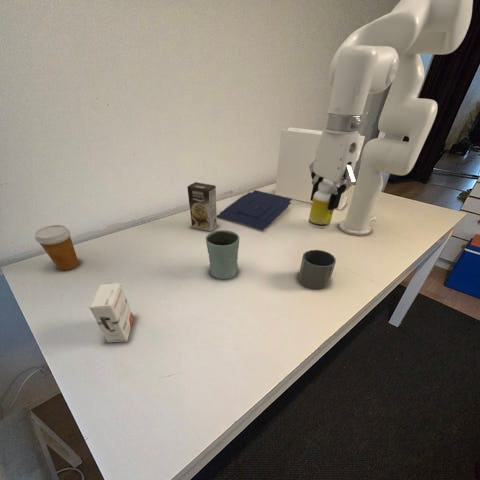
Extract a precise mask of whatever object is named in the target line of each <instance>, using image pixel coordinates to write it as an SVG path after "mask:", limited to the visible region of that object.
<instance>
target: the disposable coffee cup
mask: <svg viewBox="0 0 480 480" xmlns="http://www.w3.org/2000/svg"><path fill="white" fill-rule="evenodd" d="M34 240H35V241H36V242H37V243H38V244H39V245H40V246H41V247H42V249H43V250H44V252H45V253H46V254H47V255H48V256H49V258H50V259H51V261H52V262H53V263H54V264H55V266H56V267H57V269H58V270H60V271H69V270H74V269H75V268H76V267H78V266H79V263H80V262H79V259H78V256H77V252H76V249H75V246H74V243H73V240H72V237H71V231H70V230H69V229H68V228H67V227H66V226H65V225H63V224H62V225H61V224H52V225H51V224H50V225H46V226H44V227H41V228H39V229H37V230H36V231H35V232H34Z"/></svg>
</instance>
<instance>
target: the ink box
mask: <svg viewBox="0 0 480 480" xmlns="http://www.w3.org/2000/svg"><path fill="white" fill-rule="evenodd" d="M89 309H90V311H91V313H92V316H93V318H94V319H95V321H96V323H97V325H98V327H99V329H100V330H101V332H102V334H103V336H104V338H105V340H106V342H107V343H118V342H119V343H120V342H121V343H123V342H128V339H129V336H130V333H131V329H132V326H133V322H134V315H133V312H132V310H131V307H130V305H129V302H128V299H127V297H126V294H125V292H124V289H123V286H122V284H121V283H120V282H115V283H114V282H113V283H112V282H111V283H100V284H99V286H98V289H97V291H96V293H95V295H94V297H93V299H92V301H91V303H90V306H89Z"/></svg>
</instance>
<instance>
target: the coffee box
mask: <svg viewBox="0 0 480 480" xmlns="http://www.w3.org/2000/svg"><path fill="white" fill-rule="evenodd" d="M216 188H217V186H216V185H215V184H208V183H203V182H197V181H195V182H193V183H191V184H189V185H188V186H187V195H188V204H189V205H188V206H189V212H190V223H191V228H192V229H196V230H201V231H207V232H210V233H211V232H213V231H214V229H216V228H217V227H218V217H217V216H218V213H217V189H216Z"/></svg>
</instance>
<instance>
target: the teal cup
mask: <svg viewBox="0 0 480 480" xmlns="http://www.w3.org/2000/svg"><path fill="white" fill-rule="evenodd" d="M205 236H206V237H205V243H206V249H207V254H208V261H209V268H210V269H209V270H210V274H211V276H213V278H216V279H218V280H229V279H232V278H233V277H235V276H236V274H237V272H238V259H239V257H238V256H239V248H240V235H239V234H238V233H236V232H235V231H232V230H223V229H222V230H221V229H220V230H213V231H211V232H210V233H208V234H207V235H205Z"/></svg>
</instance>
